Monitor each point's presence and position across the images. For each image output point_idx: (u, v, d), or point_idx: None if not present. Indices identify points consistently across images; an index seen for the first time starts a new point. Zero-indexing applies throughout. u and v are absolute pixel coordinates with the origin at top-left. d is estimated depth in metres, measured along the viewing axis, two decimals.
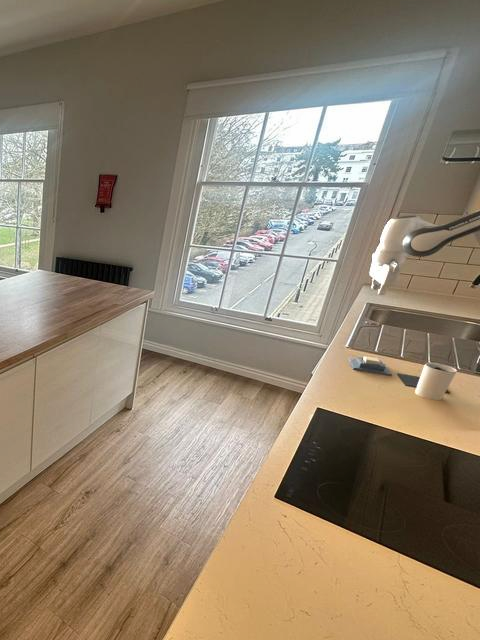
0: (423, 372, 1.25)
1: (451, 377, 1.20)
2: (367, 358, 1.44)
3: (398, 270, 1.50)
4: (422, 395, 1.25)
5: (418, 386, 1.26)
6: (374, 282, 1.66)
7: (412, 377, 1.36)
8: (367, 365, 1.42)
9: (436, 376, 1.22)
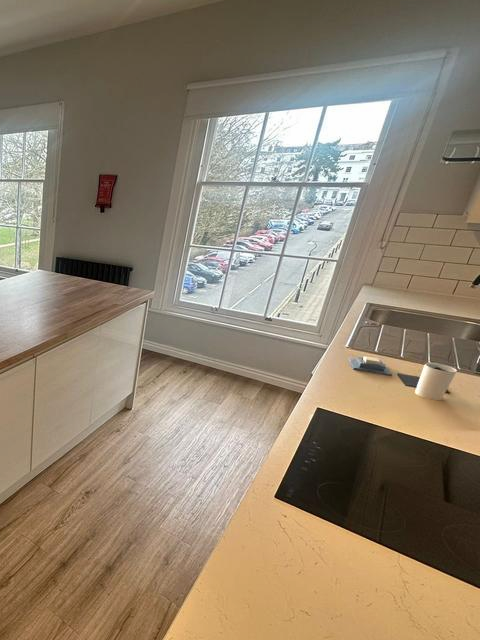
0: (423, 372, 1.25)
1: (451, 377, 1.20)
2: (367, 358, 1.44)
3: None
4: (422, 395, 1.25)
5: (418, 386, 1.26)
6: None
7: (412, 377, 1.36)
8: (367, 365, 1.42)
9: (436, 376, 1.22)
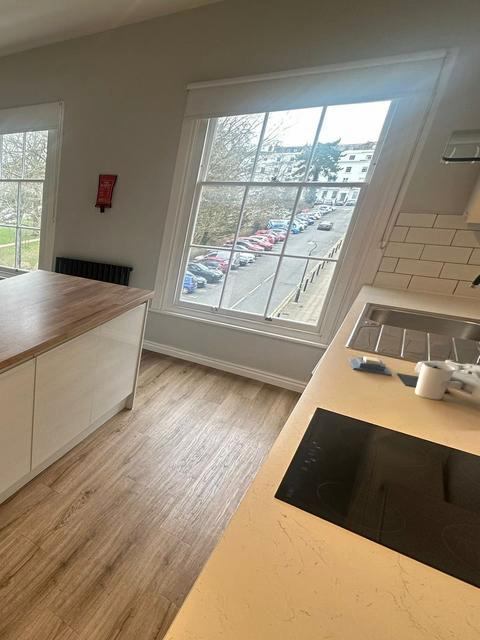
0: (421, 371, 1.25)
1: (449, 375, 1.21)
2: (367, 358, 1.44)
3: None
4: (422, 395, 1.25)
5: (417, 386, 1.27)
6: None
7: (412, 377, 1.36)
8: (367, 365, 1.42)
9: (434, 375, 1.22)
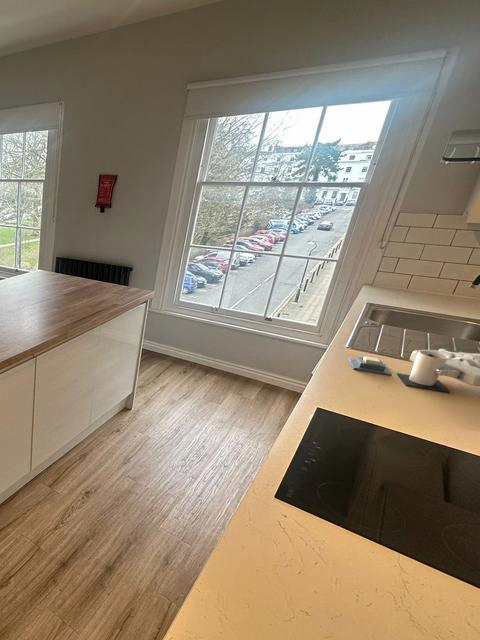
0: (417, 359, 1.32)
1: (443, 363, 1.28)
2: (367, 358, 1.44)
3: None
4: (416, 381, 1.33)
5: (412, 372, 1.34)
6: None
7: None
8: (367, 365, 1.42)
9: (429, 362, 1.29)
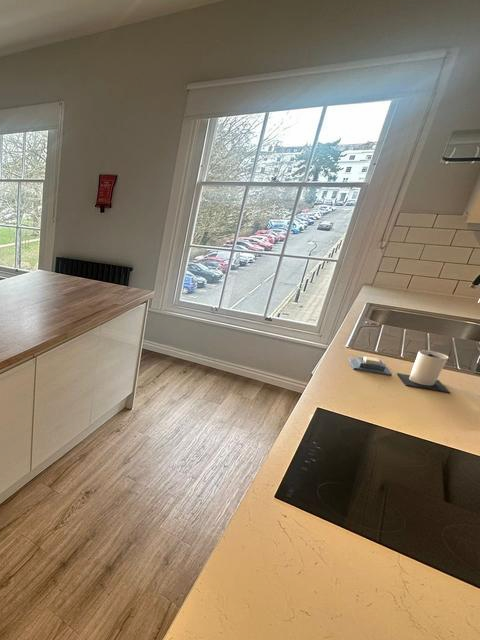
0: (417, 359, 1.32)
1: (443, 363, 1.28)
2: (367, 358, 1.44)
3: None
4: (416, 381, 1.33)
5: (412, 372, 1.34)
6: None
7: None
8: (367, 365, 1.42)
9: (429, 362, 1.29)
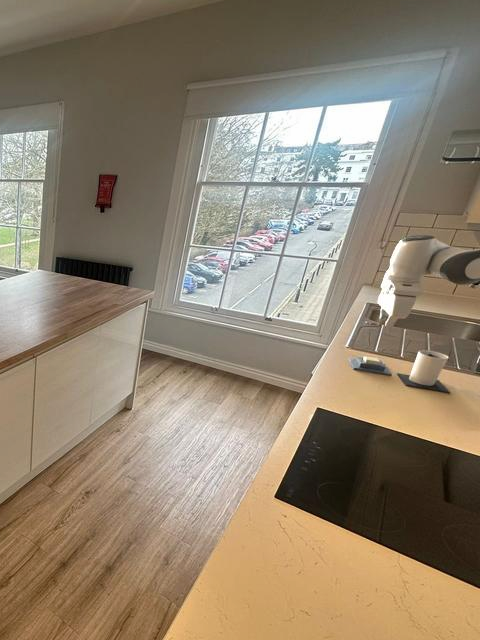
0: (417, 359, 1.32)
1: (443, 363, 1.28)
2: (367, 358, 1.44)
3: None
4: (416, 381, 1.33)
5: (412, 372, 1.34)
6: None
7: None
8: (367, 365, 1.42)
9: (429, 362, 1.29)
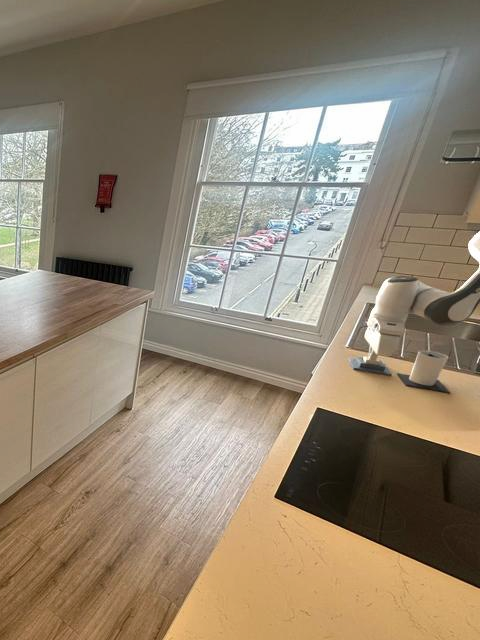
0: (417, 359, 1.32)
1: (443, 363, 1.28)
2: (367, 358, 1.44)
3: None
4: (416, 381, 1.33)
5: (412, 372, 1.34)
6: None
7: None
8: (367, 365, 1.42)
9: (429, 362, 1.29)
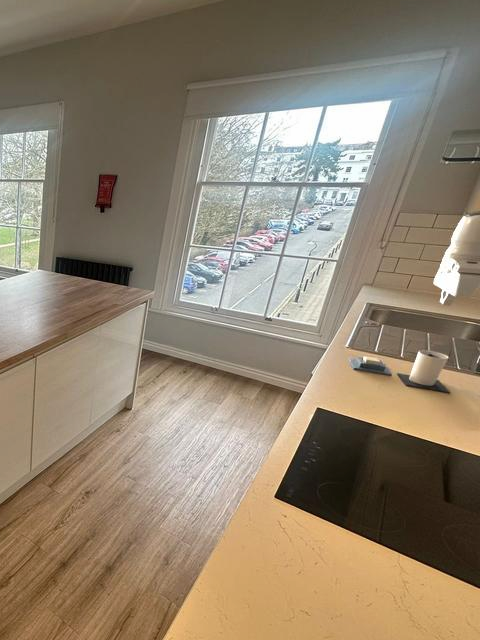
0: (417, 359, 1.32)
1: (443, 363, 1.28)
2: (367, 358, 1.44)
3: None
4: (416, 381, 1.33)
5: (412, 372, 1.34)
6: None
7: None
8: (367, 365, 1.42)
9: (429, 362, 1.29)
